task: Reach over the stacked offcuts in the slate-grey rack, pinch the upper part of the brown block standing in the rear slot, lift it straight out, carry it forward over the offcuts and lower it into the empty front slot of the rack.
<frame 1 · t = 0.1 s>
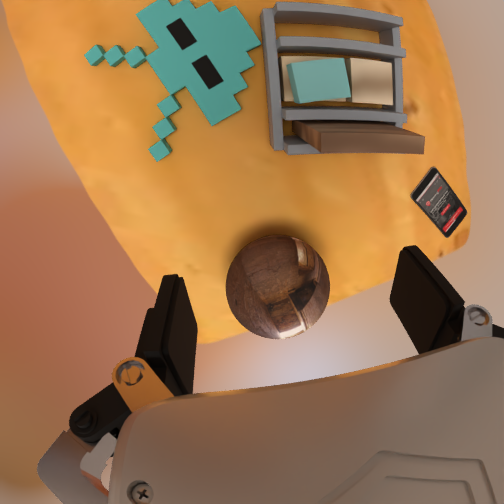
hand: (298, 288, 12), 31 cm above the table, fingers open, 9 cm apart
offcut beech: (357, 81, 34), resting in rack
wooden sphere: (271, 258, 49), on the table
smartphone: (439, 203, 45), on the table
brown block: (333, 124, 37), resting in rack
alien figure: (182, 63, 32), on the table
offcut oak wide: (307, 79, 34), resting in rack, touching offcut teal
rack: (331, 80, 34), on the table
offcut teal: (315, 80, 31), point 4 cm above the table, touching offcut oak wide
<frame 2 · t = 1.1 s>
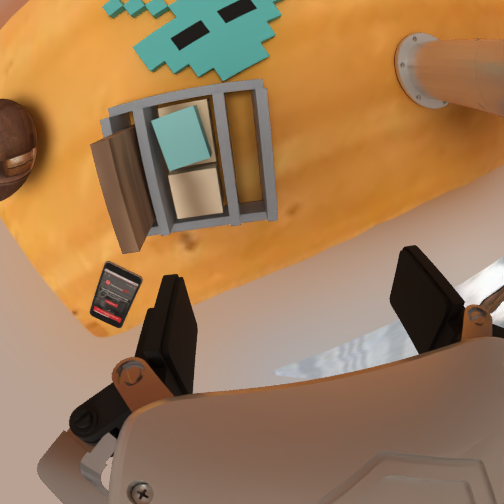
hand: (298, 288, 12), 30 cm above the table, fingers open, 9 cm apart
offcut beech: (199, 182, 40), resting in rack
wooden sphere: (22, 138, 32), on the table
smartphone: (114, 295, 50), on the table
brown block: (149, 163, 38), resting in rack
alien figure: (205, 14, 28), on the table
offcut oak wide: (191, 130, 36), resting in rack, touching offcut teal
rack: (193, 155, 38), on the table
wooden fragment: (490, 302, 62), on the table
offcut teal: (184, 135, 33), point 4 cm above the table, touching offcut oak wide
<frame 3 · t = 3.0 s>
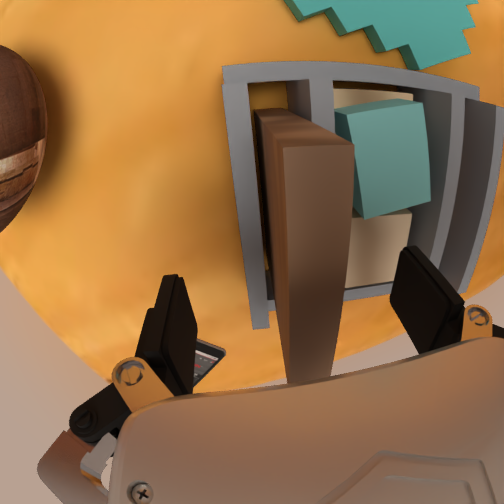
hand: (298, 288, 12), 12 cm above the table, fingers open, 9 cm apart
offcut beech: (350, 222, 24), resting in rack
wooden sphere: (18, 123, 17), on the table
smartphone: (175, 366, 35), on the table
brown block: (273, 184, 22), resting in rack
offcut oak wide: (354, 137, 21), resting in rack
rack: (352, 179, 22), on the table
offcut teal: (374, 149, 17), point 4 cm above the table
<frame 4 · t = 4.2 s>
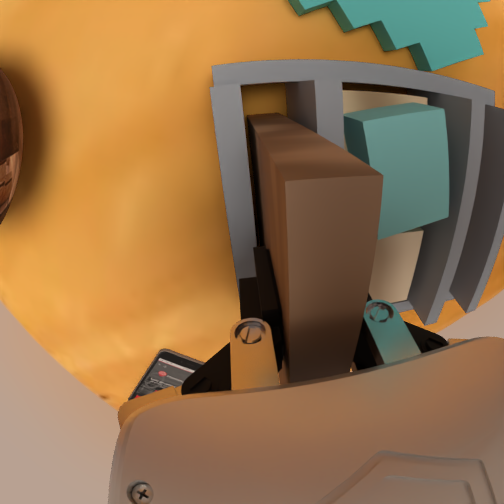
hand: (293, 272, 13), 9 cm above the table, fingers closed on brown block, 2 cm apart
offcut beech: (354, 237, 23), resting in rack
smartphone: (169, 384, 33), on the table
brown block: (269, 199, 20), resting in rack, touching gripper
offcut oak wide: (360, 144, 19), resting in rack, touching offcut teal
rack: (357, 191, 20), on the table
offcut teal: (387, 159, 15), point 4 cm above the table, touching offcut oak wide
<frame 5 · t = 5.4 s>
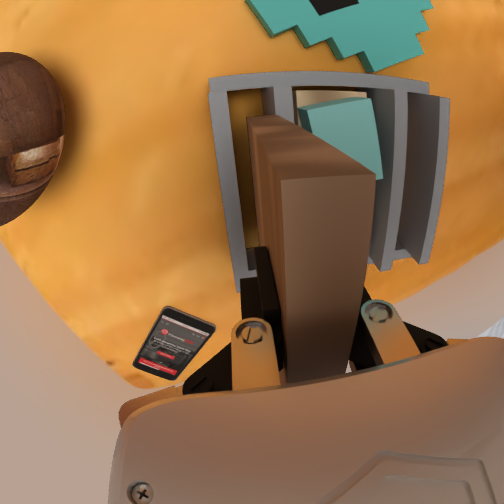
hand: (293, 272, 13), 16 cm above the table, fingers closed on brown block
wooden sphere: (34, 123, 21), on the table
smartphone: (170, 345, 39), on the table
brown block: (268, 199, 20), point 7 cm above the table, touching gripper
offcut oak wide: (319, 130, 25), resting in rack
rack: (319, 167, 27), on the table
offcut teal: (334, 138, 22), point 4 cm above the table
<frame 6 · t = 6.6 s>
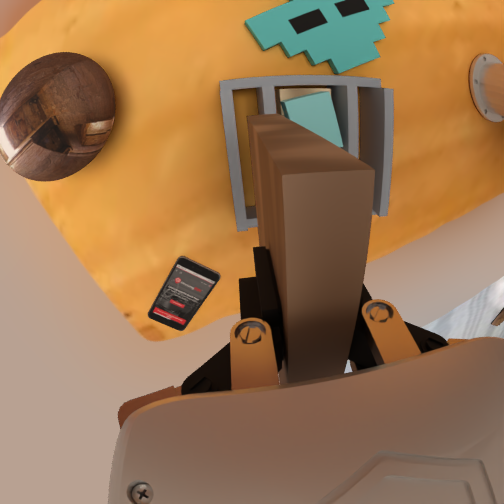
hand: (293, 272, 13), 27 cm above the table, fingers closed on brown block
wooden sphere: (83, 108, 30), on the table
smartphone: (181, 294, 48), on the table
brown block: (269, 198, 21), point 18 cm above the table, touching gripper
alien figure: (316, 3, 26), on the table
offcut oak wide: (299, 118, 34), resting in rack, touching offcut teal
rack: (300, 144, 36), on the table
offcut teal: (308, 121, 31), point 4 cm above the table, touching offcut oak wide
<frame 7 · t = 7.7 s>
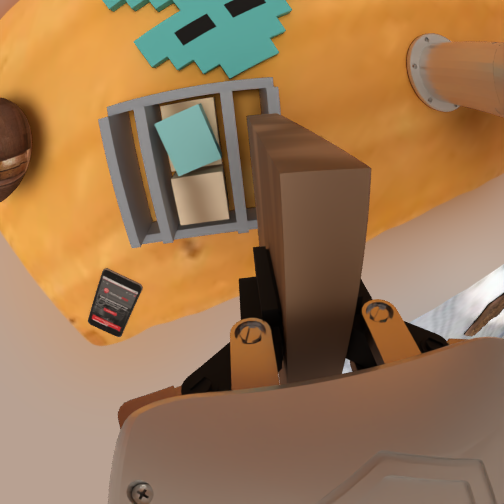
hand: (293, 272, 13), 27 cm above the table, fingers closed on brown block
offcut beech: (203, 185, 38), resting in rack
wooden sphere: (16, 139, 30), on the table
smartphone: (113, 303, 47), on the table
brown block: (268, 197, 21), point 17 cm above the table, touching gripper
alien figure: (211, 8, 26), on the table
offcut oak wide: (194, 130, 34), resting in rack, touching offcut teal
rack: (197, 157, 36), on the table
wooden fragment: (494, 306, 60), on the table
offcut teal: (191, 136, 31), point 4 cm above the table, touching offcut oak wide
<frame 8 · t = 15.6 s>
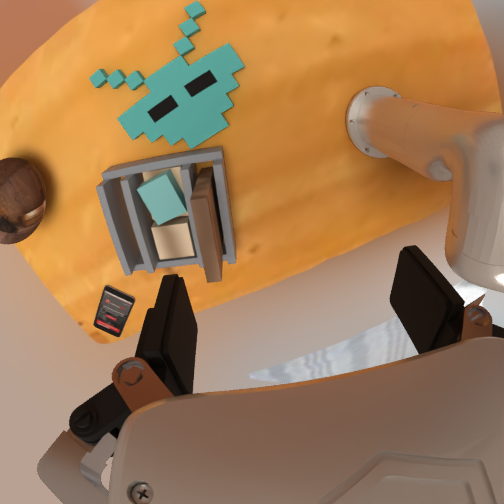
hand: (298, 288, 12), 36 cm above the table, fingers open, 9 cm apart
offcut beech: (177, 227, 50), resting in rack
wooden sphere: (31, 185, 43), on the table
smartphone: (113, 311, 60), on the table
brown block: (212, 201, 48), resting in rack
alien figure: (176, 84, 38), on the table
offcut oak wide: (170, 185, 46), resting in rack, touching offcut teal
rack: (172, 207, 48), on the table
offcut teal: (165, 193, 43), point 4 cm above the table, touching offcut oak wide
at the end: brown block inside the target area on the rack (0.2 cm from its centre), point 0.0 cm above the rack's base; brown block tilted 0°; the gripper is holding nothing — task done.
